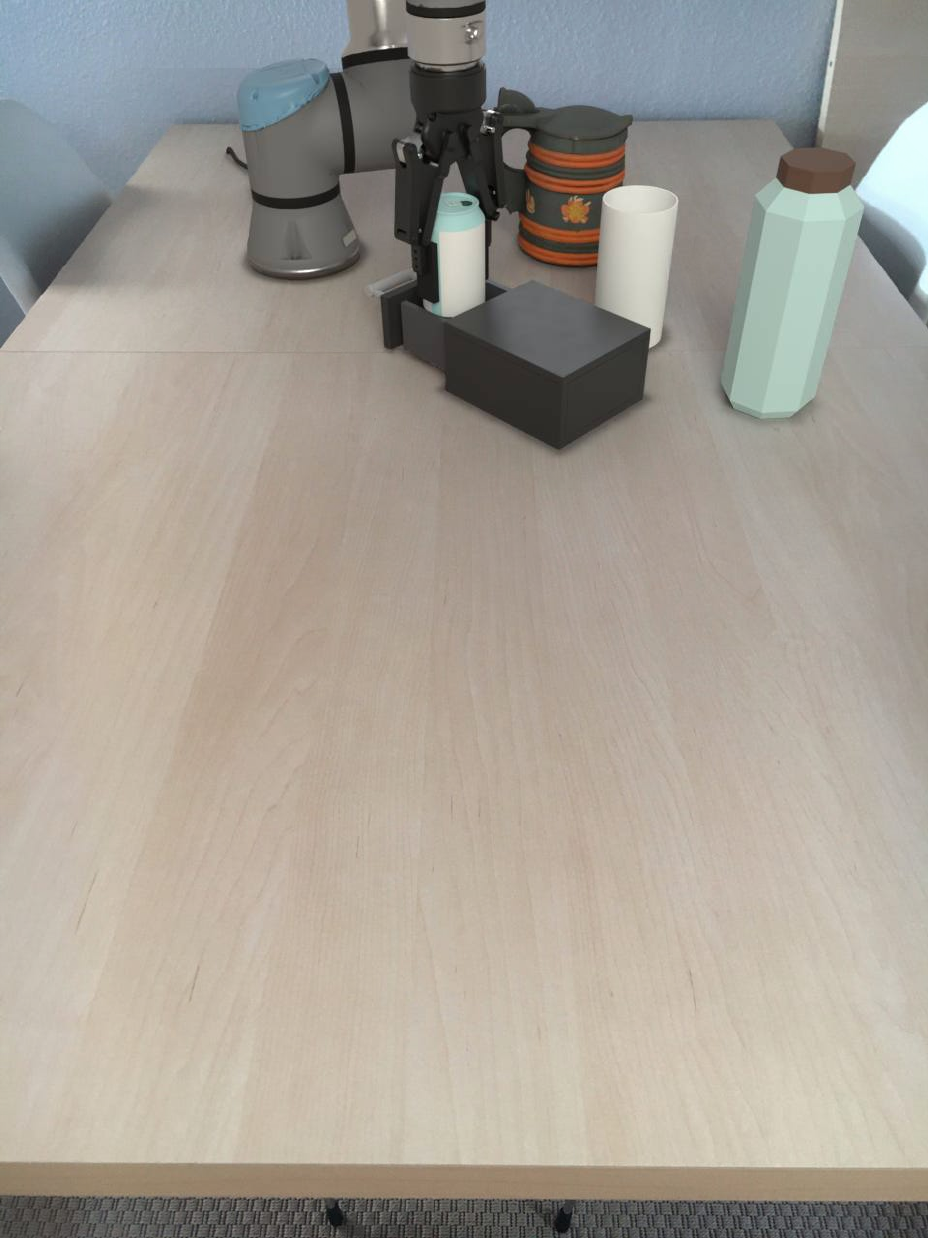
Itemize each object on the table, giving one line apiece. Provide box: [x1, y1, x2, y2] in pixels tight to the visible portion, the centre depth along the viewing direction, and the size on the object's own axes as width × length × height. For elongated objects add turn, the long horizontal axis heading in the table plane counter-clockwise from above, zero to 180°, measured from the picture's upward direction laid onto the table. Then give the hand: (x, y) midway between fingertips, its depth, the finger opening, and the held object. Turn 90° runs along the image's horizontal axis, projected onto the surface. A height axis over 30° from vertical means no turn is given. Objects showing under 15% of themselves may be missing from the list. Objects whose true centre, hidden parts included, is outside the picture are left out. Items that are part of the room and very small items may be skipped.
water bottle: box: [720, 147, 865, 420], centre depth 99 cm, size 10×10×25 cm
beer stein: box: [492, 86, 634, 268], centre depth 130 cm, size 19×15×20 cm
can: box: [419, 191, 485, 319], centre depth 109 cm, size 7×7×12 cm
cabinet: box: [444, 279, 651, 451], centre depth 106 cm, size 17×14×8 cm
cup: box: [593, 184, 679, 349], centre depth 113 cm, size 8×8×16 cm
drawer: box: [364, 266, 512, 371], centre depth 114 cm, size 22×13×6 cm, turn 44°
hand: (453, 287), depth 111 cm, fingers closed on can, 7 cm apart
